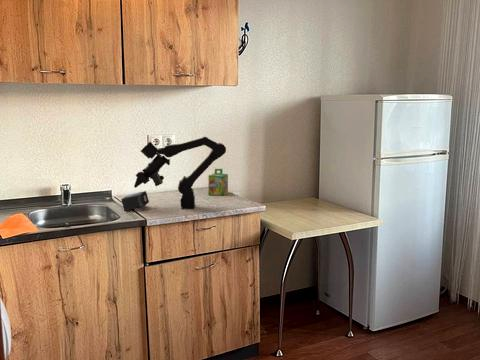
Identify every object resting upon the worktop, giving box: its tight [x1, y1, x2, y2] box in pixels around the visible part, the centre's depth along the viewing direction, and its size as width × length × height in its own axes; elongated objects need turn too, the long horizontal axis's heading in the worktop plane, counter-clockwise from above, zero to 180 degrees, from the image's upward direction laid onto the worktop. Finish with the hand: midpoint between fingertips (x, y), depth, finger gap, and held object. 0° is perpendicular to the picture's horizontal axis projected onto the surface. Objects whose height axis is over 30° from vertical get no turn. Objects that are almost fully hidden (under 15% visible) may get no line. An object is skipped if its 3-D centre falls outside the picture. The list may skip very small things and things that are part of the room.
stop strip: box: [134, 204, 147, 212], centre depth 235 cm, size 2×12×1 cm, turn 178°
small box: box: [121, 190, 150, 212], centre depth 235 cm, size 11×6×10 cm
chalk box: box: [207, 168, 229, 197], centre depth 269 cm, size 9×9×15 cm
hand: (134, 187), depth 234 cm, fingers closed
